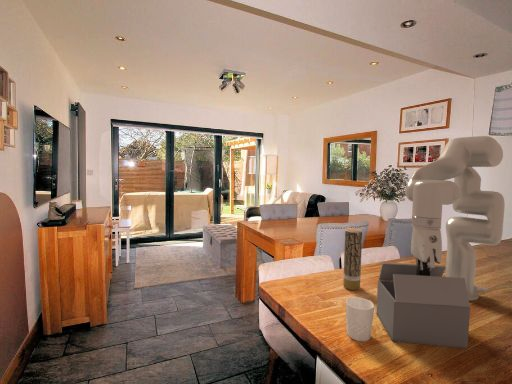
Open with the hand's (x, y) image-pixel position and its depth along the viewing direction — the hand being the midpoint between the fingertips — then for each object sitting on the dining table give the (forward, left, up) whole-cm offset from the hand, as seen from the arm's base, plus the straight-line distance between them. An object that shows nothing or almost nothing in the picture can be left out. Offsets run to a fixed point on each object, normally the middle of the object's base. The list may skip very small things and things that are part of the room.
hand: (422, 282), depth 85 cm
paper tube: (+14, -32, -16) cm, 39 cm away
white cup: (+19, +4, -16) cm, 25 cm away
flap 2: (0, +4, 0) cm, 4 cm away
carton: (0, -2, -16) cm, 16 cm away
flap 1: (0, -8, 0) cm, 8 cm away
